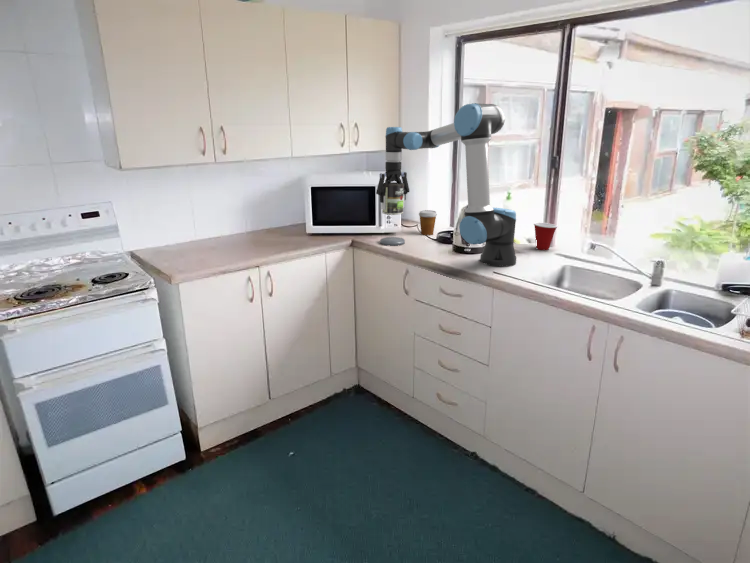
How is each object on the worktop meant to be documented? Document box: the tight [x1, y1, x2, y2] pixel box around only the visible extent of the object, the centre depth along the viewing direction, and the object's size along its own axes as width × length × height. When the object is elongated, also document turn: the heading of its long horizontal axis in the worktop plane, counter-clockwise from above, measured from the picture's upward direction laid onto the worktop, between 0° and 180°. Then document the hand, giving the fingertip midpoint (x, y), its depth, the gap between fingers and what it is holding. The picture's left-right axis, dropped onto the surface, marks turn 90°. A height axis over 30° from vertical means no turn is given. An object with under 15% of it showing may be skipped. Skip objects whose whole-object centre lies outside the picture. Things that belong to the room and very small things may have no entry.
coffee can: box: [381, 181, 404, 216], centre depth 241 cm, size 10×10×14 cm
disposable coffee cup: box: [418, 209, 438, 236], centre depth 264 cm, size 10×10×12 cm
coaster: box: [380, 236, 406, 247], centre depth 248 cm, size 12×12×2 cm
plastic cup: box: [533, 222, 558, 251], centre depth 236 cm, size 11×11×12 cm
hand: (392, 208), depth 243 cm, fingers closed on coffee can, 10 cm apart
